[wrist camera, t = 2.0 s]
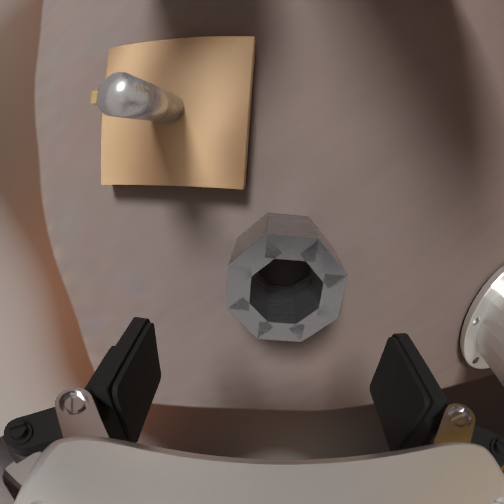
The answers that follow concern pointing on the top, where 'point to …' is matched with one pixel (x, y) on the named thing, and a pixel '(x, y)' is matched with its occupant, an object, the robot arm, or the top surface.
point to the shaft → (137, 99)
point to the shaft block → (184, 114)
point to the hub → (284, 297)
